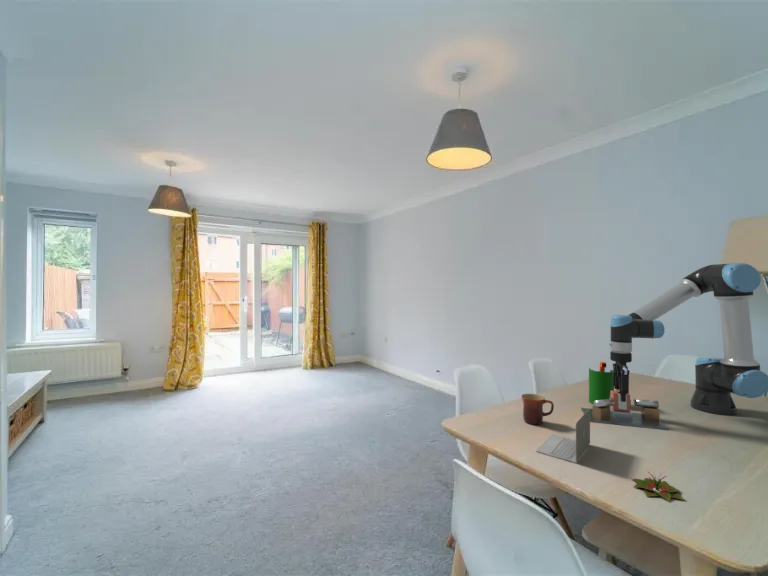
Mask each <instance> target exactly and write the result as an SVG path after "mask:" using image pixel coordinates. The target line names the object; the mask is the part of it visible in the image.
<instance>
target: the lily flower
mask: <svg viewBox="0 0 768 576" xmlns="http://www.w3.org/2000/svg"><path fill="white" fill-rule="evenodd" d="M647 473H648V474H650V476H648V477H645V478H643V479H641V478H632V477H630V478H631V480H633V481H634V482H635V483H636V484H635V485H634V486H633V488H641V489H643V492H644V493H645V495H646V497H661V498H663V499H665V500H666V501H667V502H668V503H670V502H671V498H672V499H678V500H683V501H687V500H686V499H685V498H684V497H682V495H680V494H678V493H676V492H680V490H679V489H678V488H676V487H674V486H672V485H671V484H669V483H668V481H666V480H663V479H665V478H666V477H668V476H667V475H665V476H663V477H660V476H661V474H662V473H661V472H659V473H660V474H659V476H658V479H657V477H656V475H655V473H653V474H654V475H652V473H651V472H650V471H647ZM651 477H652V478H651ZM662 480H663V481H662ZM653 492H654V493H653Z"/></svg>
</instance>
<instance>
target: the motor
mask: <svg viewBox="0 0 768 576" xmlns="http://www.w3.org/2000/svg"><path fill="white" fill-rule="evenodd" d="M605 368H606V369H607V362H606V361H600V362H599V370H598V371H597V370H594V369H591V368H588V402H589V403H590V404H592V405H594V401H595V400H604V399H610V391H611V390H614V391H615V388H614V387H615V386H613V369H610V371H606V369H605ZM607 407H609V408H610V406H607Z"/></svg>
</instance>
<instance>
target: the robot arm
mask: <svg viewBox="0 0 768 576" xmlns="http://www.w3.org/2000/svg"><path fill="white" fill-rule="evenodd" d="M761 280H762V278H761V274H760V272H759V271H758V270H757V268H755V267H754V266H753V265H750V264H748V263H745V262H730V263H717V264H709V265H706V266H703V267H700V268H698V269H696V270H695V271H692V272H691V273H689V274H687V275H686V276H685V277H683V278H681V279H680V280H679V283H678V284H676V285H675V286H673V287H671V288H670V289H668V290H666V291H665V292H663V293H661V295H659V296H657V297H656V298H654V299H652V300H650V301H649V302H648V303H646V304H644V305H642V306H641V307H639V308H638V309H636V310H634V311H633V312H631V313H630V314H626V315H625V314H613V315H611V318H610V322H609V323H610V325H609V327H610V342H609V343H608V345H609V346H610V350H611V351H610V352H609V356H610V357H609V359H610V361H613V362H614V363H612V370H613V386H614V391H619V392H618V393H619V407H618V408H619V409H625V410H627V394H630V392H629V391H630V386H629V385H630V372H631V371H630V370H629V369H628V368H629V367H628V366H627V363H631V362H633V361H632V360H633V358H632V357H633V354H632V352H633V342H632V341H633V339H636V338H637V339H661V338H662V337H663V336H664V335H665V331H666V330H665V326H664V324H663V322H662V321H661V320H657V319H659V318H660V317H663V316H664V315H665V314H667V313H668V312H670V311H672V310H674V309H675V308H677V307H678V306H680V305H681V304H683V303H685V302H686V301H688V300H690V299H692V298H693V297H694V298H697V297H700V296H701V295H703V294H707V293H711V292H713V297H714V298H715V299H716V300H717V301H718V303H719V311H720V322H721V333H722V334H721V335H722V343H723V344H722V345H723V354H724V355H723V357H698V358H696V360H695V365H694V367H695V369H694V370H695V389H694V392H693V393H692V396H691V398H690V407H691V408H693V409H696V410H698V411H702V412H705V413H706V412H707V413H710V414H715V415H723V416H725V415H727V416H733V415H732V414H734V415H736V414H737V406H736V404H735V402H734V398H733V397H732V394H733V395H737V396H739V397H745V398H747V399H749V398H750V399H755V398H759V397H762V396H763V395H764V394H765V393H767V392H768V375H767V374H766V373H765V372H764V371H762V370H761V364H760V362H759V361H757V360H756V359H755V357H754V345H753V336H752V325H751V322H752V321H751V314H750V313H751V312H750V303H749V300H750V299H751V298H753V297H754V291H755V290H757V289H758V288H759V286H760V284H761Z"/></svg>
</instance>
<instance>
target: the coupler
mask: <svg viewBox="0 0 768 576" xmlns="http://www.w3.org/2000/svg"><path fill="white" fill-rule="evenodd" d="M618 392H619V391H615V389H614V390H611V391H610V399H613V400H614V402H615V404H614V405H613V406H610V407H611V408H612V409H613V410H620V411H629V412H630V411H631V405H632V400H631V394H630V393H629V394H627V410H625V409H619V408H618V407H619V393H618ZM610 407H609V408H610Z"/></svg>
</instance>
